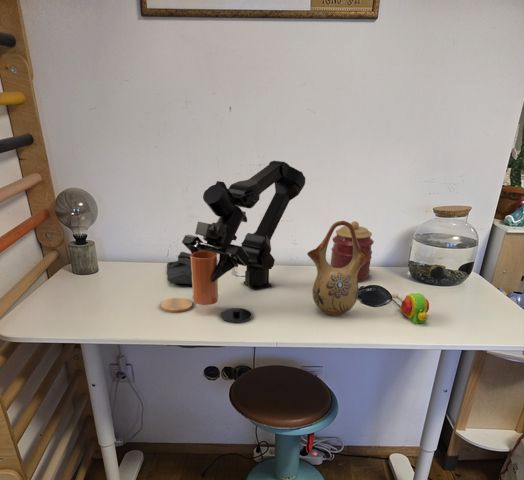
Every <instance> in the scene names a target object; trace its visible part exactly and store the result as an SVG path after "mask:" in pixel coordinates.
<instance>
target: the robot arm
mask: <svg viewBox="0 0 524 480" xmlns="http://www.w3.org/2000/svg"><path fill="white" fill-rule="evenodd" d="M273 184H274V190H275V192H274V194H273V197H272V198H271V201H270V202H269V204H268V206H267V209H266V210H265V212H264V214H263V215H262V216H263V217H262V218H261V220H260V222H259V224H258V227H257V228H256V230H255V231H254V232H253V233H250V232H247V233H246V235H245V237H244V239H243V241H242V242H241V243H240V244H241V245H238V244H237V245H236V244H232V242H233V241H234V242H236V241H237V239H238V236H237V235H236V234H237V232H238V229H239V228H240V226H241V224H242V223H247V222H248V217H247V214H246V212H247V211H243V209H241V208H244V209H252V208H254V206H256V204H257V203H258V201H260V197H261V194H262V193H264V191H265V190H267V189H268V188H270V187H271V186H272V185H273ZM305 185H306V176H305V175H304V173H303V171H300V170H298V169H297V168H295V167H293V166H291V165H289V163H288V162H286V161H280V160H272V161H270V162H269V163H268V165H266V166H265V167H263V168H262V169H261V170H260V171H258V172H256V174H254V175H253V176H251V177H250V178H248V179H245V180H240V181H236V182H233V183H231V184H230V185H229V187H227V184H226V183H225V182H224V181H220V180H217V181H216V183H214V184H213V185H210V186H209V187H208V188H207V189H206V190H204V192H203V195H202V199H203V201H204V203H205V204H206V205H207V206H208V208H209V209H210V210H211V212H212V213H213V214H214V215H215V216H217V217H218V219H217V221H216V222H211V223H207V222H203V221H197V224H196V228H195V233H194V234H195V235H192V234H186V235H184V237H183V239H182V241H181V244H183V245H184V246H185V248H187V249H188V251H190V254H192V253H194V252H197V251H211V252H215V253H216V254H217V255H219V257H218V259H219V260H218V261H217V266H216V268H215V270H214V273H213V275H212V277H211V281H212V282H214V281H216V280H217V279H218V280H219V279H220V278H221V277H223V276H224V275H225V274H227V273H228V272H229V271H231V270H232V269H234V268H238V267H239V266H243V267H245V268H246V270H245V271H244V281H243V284H244V285H246V286H247V287H249V288H251V289H252V290H259V289H263V288H270V287H272V284H271V283H270V270H272V269H273V267H274V265H275V261H276V260H275V259H276V258H274V256H273V255H272V253H271V252H272V243H271V240H272V238H273V236H274V234H275V232H276V229H277V227H278V226H279V223H280V221H281V219H282V217H283V215H284V213H285V211H286V209H287V208H288V205H289V204H290V201H292V200H293V199H294V198H296V197H297V196H299V195H300V194H301V192H302V190H303V189H304V187H305ZM197 235H199V236H202V239H201V238H200V237H199V236H197ZM203 240H204V242H203ZM190 275H191V276H192V271H191V267H190Z"/></svg>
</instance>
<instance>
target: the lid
mask: <svg viewBox="0 0 524 480" xmlns="http://www.w3.org/2000/svg"><path fill="white" fill-rule="evenodd" d="M220 318H221V319H222V320H223V321H224V322H227V323H230V324H231V323H232V324H241V323H246V322H248V321H250V320H251V319H252V313H251V311H250V310H248V309H246V308H242V307H241V308H240V307H231V308H228V309H227V308H226V309H225V310H223V311H222V312H221V314H220Z"/></svg>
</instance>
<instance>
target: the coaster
mask: <svg viewBox="0 0 524 480" xmlns="http://www.w3.org/2000/svg"><path fill="white" fill-rule="evenodd" d="M160 307H161V310H163V311H165V312H168V313H182V312H186V311H189V310H190V309H192V307H193V303H192V301H191V300H190V299H187V298H183V297H175V298H169V299H165V300H164V301H162V302H161V303H160Z"/></svg>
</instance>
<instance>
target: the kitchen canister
mask: <svg viewBox="0 0 524 480" xmlns="http://www.w3.org/2000/svg"><path fill="white" fill-rule="evenodd" d="M350 224H351V225H352V226H353V228H354V231H355V234H356V238H357V241H358V243H359V245H360V247H361V249H362V250H363V251H364V252H366V253H368V254H369V255H370V256H371V257H372V254H373V250H372V245H374V243H375V242H374V240H373V238H371V237H372V236H373V233H372V232H371V231H369V229H368V228H367V227H365V226H364V227H363V226H360V223H359V221H355V220H354V221H352V222H351V223H350ZM335 234H336V235H334V236H333V237H332V238H331V239H332V242H333V246H332V247H331V256H330V263H329V265H330V266H332V267H334V268H343V267H345V266H347V265H348V264H349V263H350V262H351V260H352V257H353V242H352V237H351V233H350V230H349V228H348V227H347V226H344V225H342V226H340V228H338V229H335ZM371 259H372V258H371ZM371 259H370V260H368V261H367V262H366V263H365V264H364V265H363V266H362V267H361V268H360V270H359V272H358V275H357V281H358V282H363V281H365V280H367V279H368V278H369V275H370V272H371V270H370V269H371V268H370V267H371V261H372V260H371Z"/></svg>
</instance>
